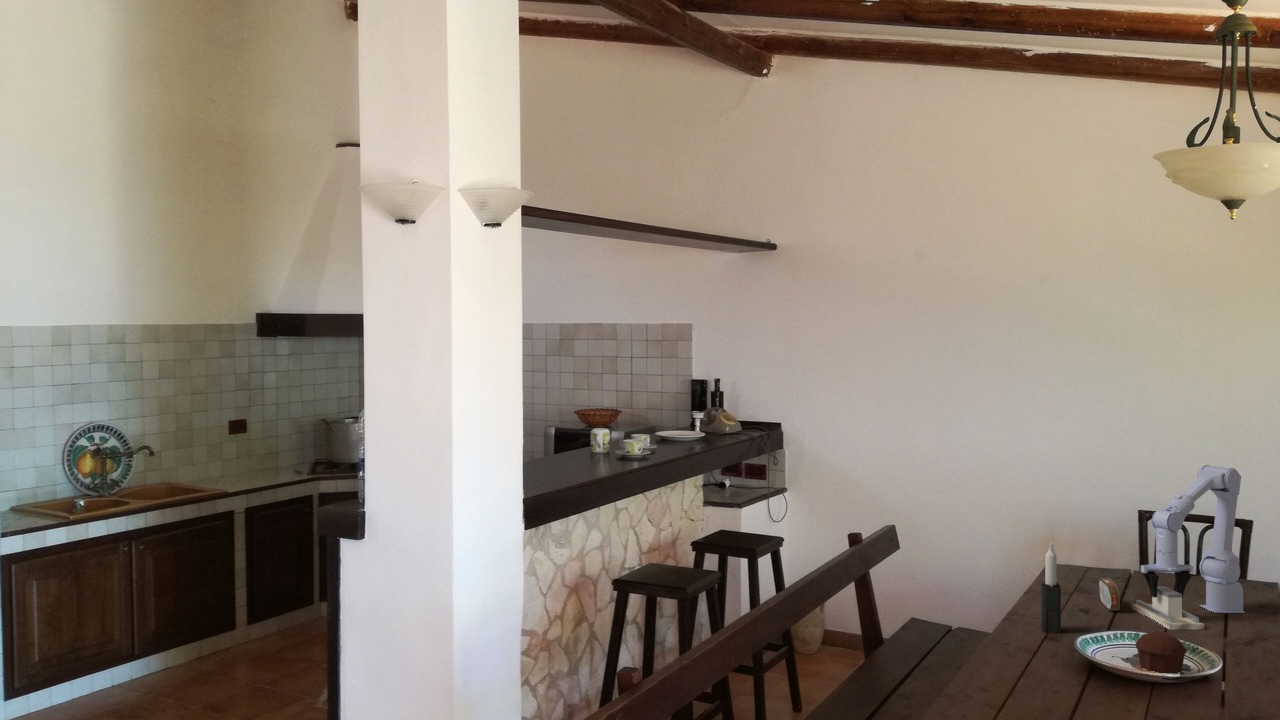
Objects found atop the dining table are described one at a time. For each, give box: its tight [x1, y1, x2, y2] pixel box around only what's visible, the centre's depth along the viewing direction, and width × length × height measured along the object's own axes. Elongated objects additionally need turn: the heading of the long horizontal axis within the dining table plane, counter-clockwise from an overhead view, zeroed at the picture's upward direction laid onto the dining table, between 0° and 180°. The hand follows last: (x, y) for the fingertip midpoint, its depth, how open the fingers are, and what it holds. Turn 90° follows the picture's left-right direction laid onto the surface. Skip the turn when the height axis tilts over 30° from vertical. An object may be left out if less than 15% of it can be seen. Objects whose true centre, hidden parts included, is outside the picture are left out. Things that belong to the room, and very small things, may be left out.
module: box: [1151, 586, 1183, 618], centre depth 295 cm, size 4×9×7 cm, turn 0°
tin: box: [1098, 577, 1121, 612], centre depth 308 cm, size 15×3×8 cm, turn 168°
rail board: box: [1131, 599, 1205, 631], centre depth 295 cm, size 10×22×3 cm, turn 0°
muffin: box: [1135, 630, 1187, 673], centre depth 247 cm, size 12×11×10 cm
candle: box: [1040, 542, 1062, 634], centre depth 284 cm, size 5×5×25 cm
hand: (1166, 596), depth 295 cm, fingers open, 7 cm apart
